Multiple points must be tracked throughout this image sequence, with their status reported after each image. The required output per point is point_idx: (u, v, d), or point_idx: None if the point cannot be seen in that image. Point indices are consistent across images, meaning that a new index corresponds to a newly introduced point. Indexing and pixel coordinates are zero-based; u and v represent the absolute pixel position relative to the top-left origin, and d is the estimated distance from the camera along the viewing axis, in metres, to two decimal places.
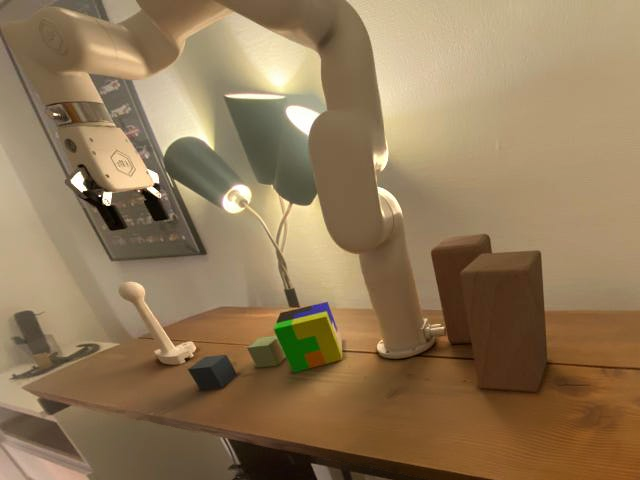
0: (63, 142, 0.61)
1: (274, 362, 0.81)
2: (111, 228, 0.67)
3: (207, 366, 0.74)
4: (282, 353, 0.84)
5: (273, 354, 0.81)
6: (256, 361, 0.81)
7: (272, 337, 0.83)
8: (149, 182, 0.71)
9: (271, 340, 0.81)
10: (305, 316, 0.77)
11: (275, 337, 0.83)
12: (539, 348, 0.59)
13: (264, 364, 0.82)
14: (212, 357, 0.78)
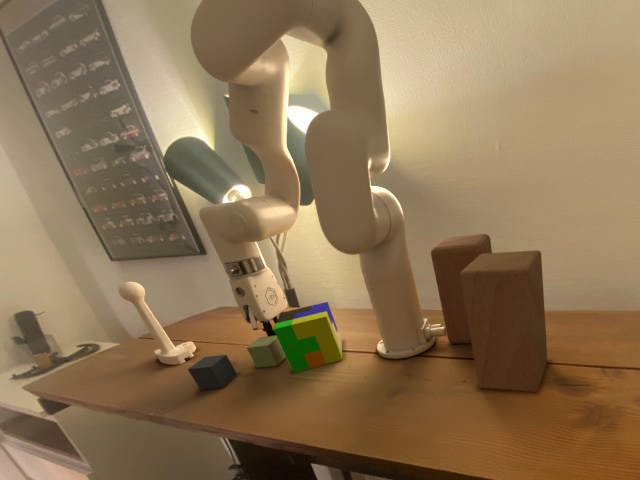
0: (234, 289, 0.76)
1: (274, 363, 0.81)
2: None
3: (207, 366, 0.74)
4: (282, 353, 0.84)
5: (273, 354, 0.81)
6: (255, 362, 0.81)
7: (272, 337, 0.83)
8: (285, 305, 0.86)
9: (271, 341, 0.81)
10: (305, 316, 0.77)
11: (275, 337, 0.83)
12: (539, 348, 0.59)
13: (264, 364, 0.82)
14: (212, 357, 0.78)
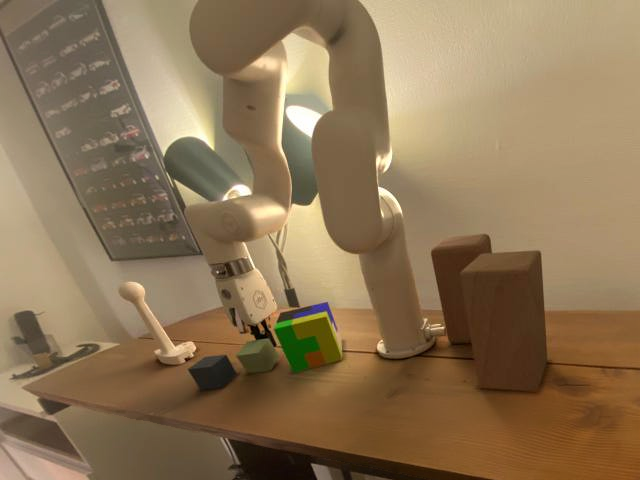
0: (220, 291, 0.73)
1: (267, 368, 0.80)
2: None
3: (207, 366, 0.74)
4: (273, 357, 0.82)
5: (264, 360, 0.79)
6: (247, 368, 0.80)
7: (260, 341, 0.80)
8: (275, 308, 0.83)
9: (260, 346, 0.79)
10: (305, 316, 0.77)
11: (263, 341, 0.80)
12: (539, 348, 0.59)
13: (256, 370, 0.80)
14: (212, 357, 0.78)
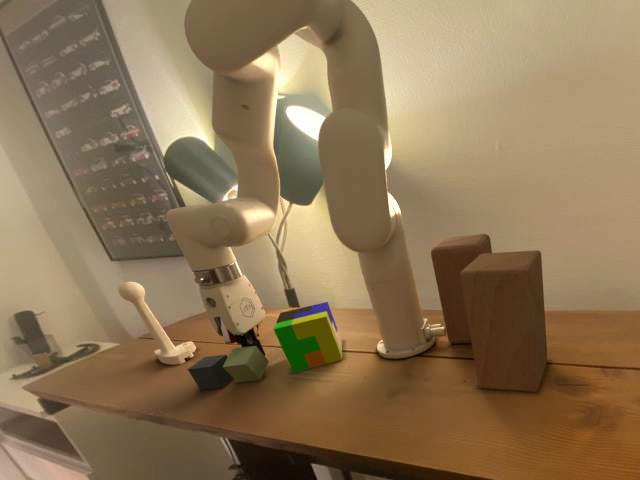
0: (205, 299, 0.69)
1: (256, 377, 0.76)
2: None
3: (207, 366, 0.74)
4: (262, 364, 0.78)
5: (253, 370, 0.75)
6: (236, 377, 0.76)
7: (247, 349, 0.76)
8: (263, 316, 0.79)
9: (247, 356, 0.75)
10: (305, 316, 0.77)
11: (250, 350, 0.76)
12: (539, 348, 0.59)
13: (245, 379, 0.77)
14: (212, 357, 0.78)
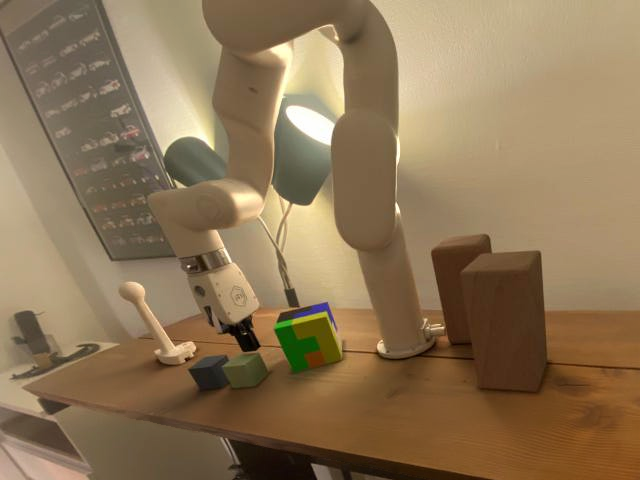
0: (193, 288, 0.66)
1: (252, 383, 0.75)
2: (244, 350, 0.77)
3: (207, 366, 0.74)
4: (261, 372, 0.77)
5: (250, 374, 0.74)
6: (232, 382, 0.75)
7: (250, 355, 0.76)
8: (256, 306, 0.76)
9: (248, 359, 0.74)
10: (305, 316, 0.77)
11: (253, 355, 0.76)
12: (539, 348, 0.59)
13: (241, 385, 0.75)
14: (212, 357, 0.78)
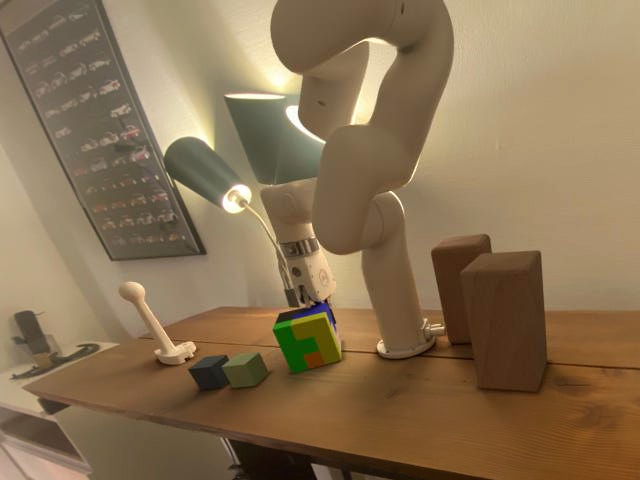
0: (291, 269, 0.77)
1: (252, 383, 0.74)
2: None
3: (207, 366, 0.74)
4: (261, 372, 0.77)
5: (250, 374, 0.74)
6: (232, 382, 0.75)
7: (250, 355, 0.76)
8: (335, 287, 0.87)
9: (248, 359, 0.74)
10: (304, 316, 0.76)
11: (253, 355, 0.76)
12: (539, 348, 0.59)
13: (241, 384, 0.75)
14: (212, 357, 0.78)
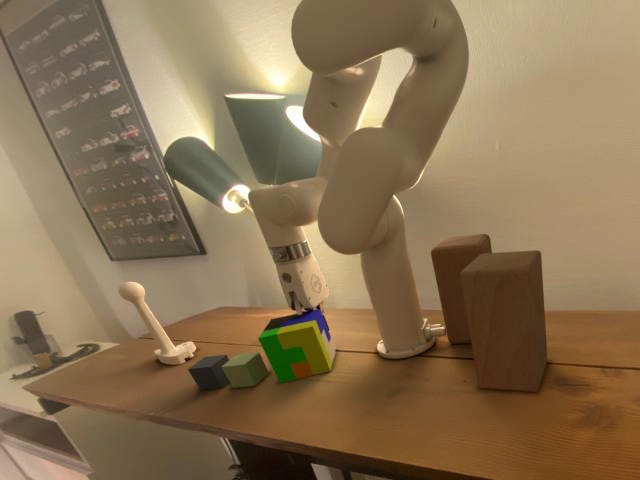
0: (281, 275, 0.74)
1: (252, 383, 0.74)
2: None
3: (207, 366, 0.74)
4: (261, 372, 0.77)
5: (250, 374, 0.74)
6: (232, 382, 0.75)
7: (250, 355, 0.76)
8: (327, 293, 0.84)
9: (248, 359, 0.74)
10: (293, 324, 0.73)
11: (253, 355, 0.76)
12: (539, 348, 0.59)
13: (241, 384, 0.75)
14: (212, 357, 0.78)
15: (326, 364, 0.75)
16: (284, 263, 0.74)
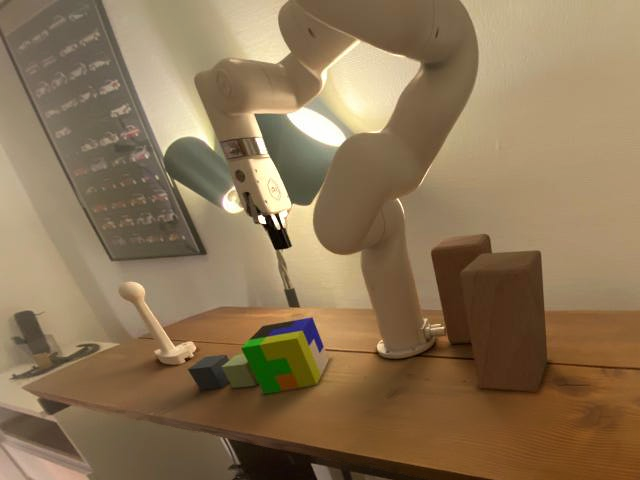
0: (233, 172, 0.69)
1: (252, 383, 0.74)
2: (276, 248, 0.80)
3: (207, 366, 0.74)
4: None
5: (250, 374, 0.74)
6: (232, 382, 0.75)
7: None
8: (289, 205, 0.79)
9: None
10: (280, 334, 0.69)
11: None
12: (539, 348, 0.59)
13: (241, 384, 0.75)
14: (212, 357, 0.78)
15: (312, 377, 0.71)
16: (236, 159, 0.69)
